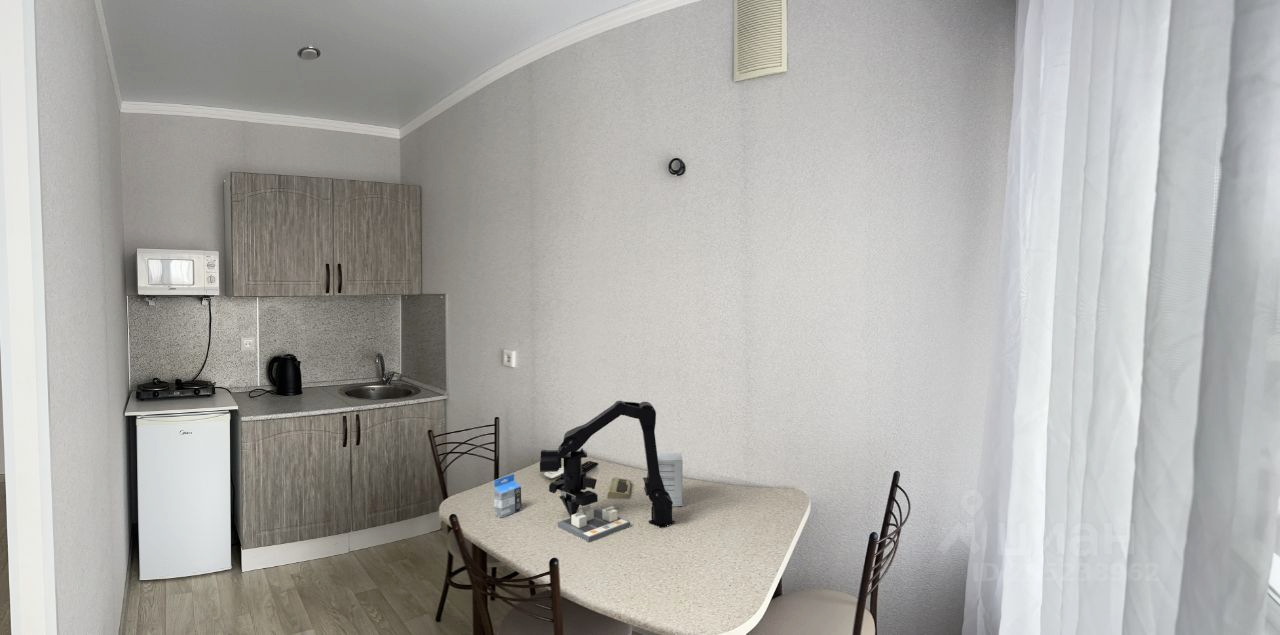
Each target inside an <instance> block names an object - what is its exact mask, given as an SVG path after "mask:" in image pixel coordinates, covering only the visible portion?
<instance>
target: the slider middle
mask: <svg viewBox="0 0 1280 635" xmlns="http://www.w3.org/2000/svg"><path fill="white" fill-rule="evenodd" d="M594 510H595V509H594V508H591V504H589V505H586V506H581V507H579V508H578V513H579V512H584V515H586V516H587V521H588V520H591V519H594Z"/></svg>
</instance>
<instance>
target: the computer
mask: <svg viewBox="0 0 1280 635" xmlns="http://www.w3.org/2000/svg"><path fill="white" fill-rule="evenodd" d="M631 489H632V481H631V479H627V478H619V477H612V478H611V479H610V484H609V487H608V491H607V499H613V500H614V499H615V500H616V499H617V500H622V499H623V500H624V499H625V500H628V499H630V494H631Z"/></svg>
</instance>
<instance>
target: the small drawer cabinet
mask: <svg viewBox="0 0 1280 635" xmlns="http://www.w3.org/2000/svg"><path fill="white" fill-rule="evenodd" d="M657 456H658V464H659V472H660V476H661V479H662V482H663V485H664V488H665V490H666V491H667V492H668V493H669V495H670V497H671V500H672V502H673V505H672V506H682V507H683V478H684V477H683V476H684V475H683V472H684V471H683V457H682V453H681V452H657Z"/></svg>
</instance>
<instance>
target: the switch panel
mask: <svg viewBox="0 0 1280 635" xmlns="http://www.w3.org/2000/svg"><path fill="white" fill-rule="evenodd" d="M593 510H594V519H591V520H588V521H587V525H586V526H583V527H581V528H578V527H576V526H574V525H572V524H571V517H569V518H566V519H563V520H560V521H558V522H557V527H558V528H559V529H561V530H563V531H565V532H567V533H570V534H571V533H572V534H571V535H573V536H575V537H577V538H579V537H580V538H579V539H581V538H582V539H581V540H583V539H584V540H583V541H585V540H586V541H585V542H587V541H588V542H587V543H591V542H594V541H596V539H597V540H599V539H601V537H602V538H604V536H605V537H606V536H609V534H610V535H612V534H615V533H617V531H618V532H620V531H622V529H623V530H625V529H627V527H628V528H630V527H631V521H629V520H626V519H625V518H622V517H619V516H617V520H615V521H612V522H609V521H606V520H604V519H602V510H603V509H600V508H596V509H593ZM629 526H630V527H629ZM624 528H625V529H624ZM614 532H615V533H614ZM593 540H594V541H593ZM590 541H591V542H590Z"/></svg>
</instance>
